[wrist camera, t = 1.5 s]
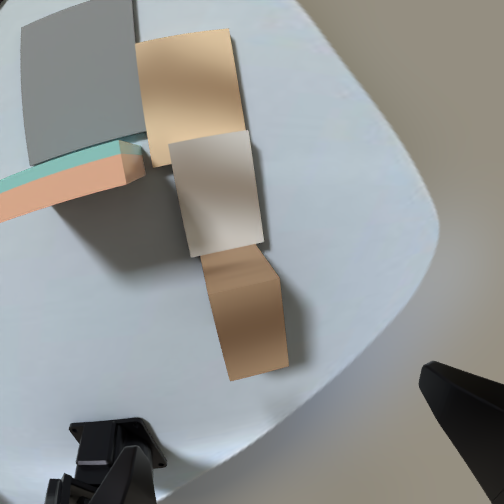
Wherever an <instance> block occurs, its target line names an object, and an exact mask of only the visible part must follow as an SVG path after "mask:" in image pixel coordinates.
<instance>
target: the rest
mask: <svg viewBox="0 0 504 504" xmlns="http://www.w3.org/2000/svg"><path fill="white" fill-rule="evenodd" d="M135 49H136V59H137V67H138V75H139V83H140V91H141V98H142V105H143V112H144V118H145V125H146V131H147V137H148V143H149V148H150V154H151V160H152V165H153V168H155V167H160V166H164V165H169V164H172V163H171V158H170V152H169V146H168V144H171V143H175V142H180V141H185V140H191V139H196V138H201V137H207V136H213V135H219V134H225V133H231V132H238V131H244V130H246V129H245V123H244V116H243V110H242V104H241V98H240V92H239V86H238V80H237V74H236V68H235V62H234V56H233V50H232V45H231V39H230V33H229V29H219V30H210V31H202V32H194V33H188V34H181V35H175V36H169V37H164V38H159V39H154V40H149V41H144V42H140V43H136V44H135Z"/></svg>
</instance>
